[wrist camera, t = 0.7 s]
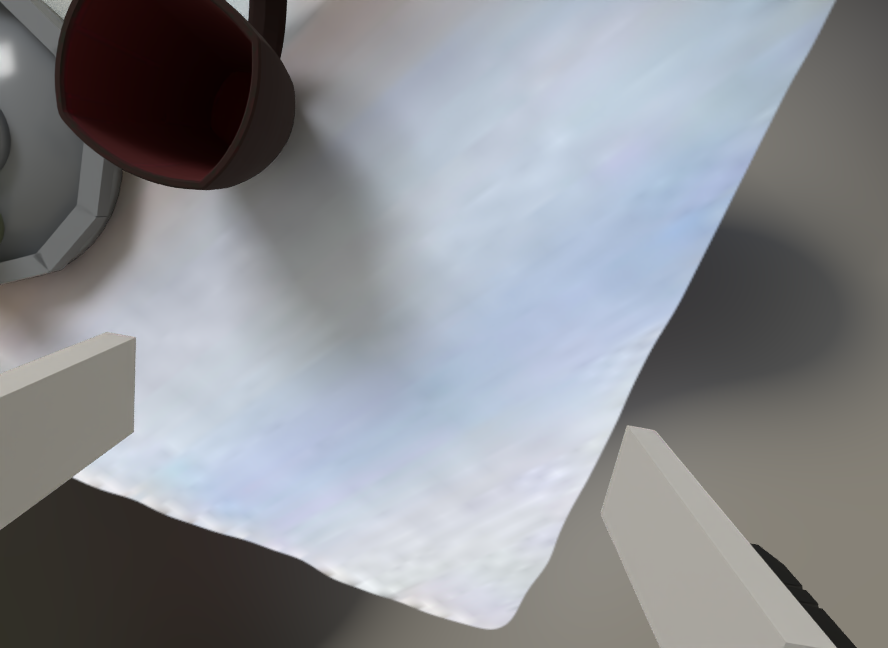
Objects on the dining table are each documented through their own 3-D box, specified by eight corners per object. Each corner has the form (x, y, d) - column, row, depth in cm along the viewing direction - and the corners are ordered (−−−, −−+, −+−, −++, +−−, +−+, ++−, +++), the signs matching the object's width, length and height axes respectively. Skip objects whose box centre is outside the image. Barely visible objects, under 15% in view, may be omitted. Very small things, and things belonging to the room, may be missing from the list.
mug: (165, 147, 37) (31, 124, 25) (233, -46, 34) (115, -173, 22) (288, 210, 38) (214, 216, 26) (365, 28, 35) (319, -57, 23)
